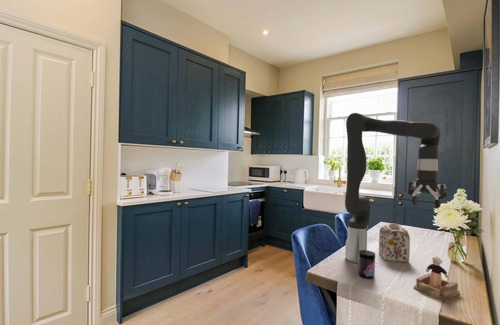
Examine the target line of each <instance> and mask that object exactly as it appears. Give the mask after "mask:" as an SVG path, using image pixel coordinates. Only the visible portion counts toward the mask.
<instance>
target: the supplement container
mask: <svg viewBox="0 0 500 325" xmlns="http://www.w3.org/2000/svg"><path fill="white" fill-rule="evenodd" d="M357 269H358V272H357V273H358V276H359V277H360V278H363V279H365V280H366V279H367V280H372V279H375V275H376V273H375V272H376V253H375V252H374V251H371V250H368V249H367V250H360V251H359V263H358V268H357Z"/></svg>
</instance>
